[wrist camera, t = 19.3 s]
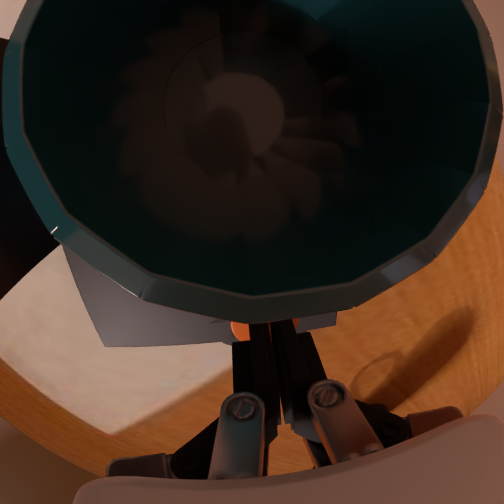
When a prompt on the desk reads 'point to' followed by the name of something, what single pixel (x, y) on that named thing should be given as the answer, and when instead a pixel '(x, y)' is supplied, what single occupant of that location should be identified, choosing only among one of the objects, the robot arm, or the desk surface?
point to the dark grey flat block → (153, 315)
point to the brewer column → (17, 219)
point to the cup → (252, 143)
